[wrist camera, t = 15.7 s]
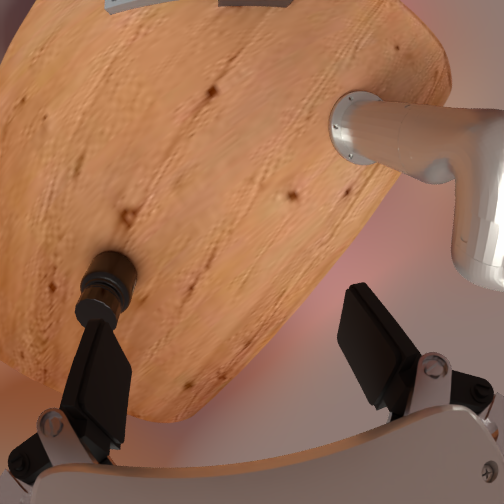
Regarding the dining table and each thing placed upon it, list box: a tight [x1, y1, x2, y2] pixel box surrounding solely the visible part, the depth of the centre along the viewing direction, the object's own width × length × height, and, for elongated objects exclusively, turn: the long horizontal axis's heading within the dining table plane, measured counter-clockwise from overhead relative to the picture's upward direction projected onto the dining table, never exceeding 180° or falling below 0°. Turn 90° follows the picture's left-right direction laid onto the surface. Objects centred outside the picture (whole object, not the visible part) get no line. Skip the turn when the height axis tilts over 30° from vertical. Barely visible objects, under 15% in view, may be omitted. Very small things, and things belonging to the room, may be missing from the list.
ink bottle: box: [75, 252, 137, 331], centre depth 39 cm, size 10×9×12 cm
